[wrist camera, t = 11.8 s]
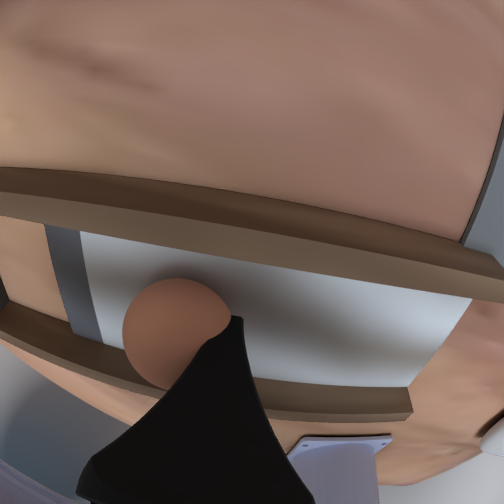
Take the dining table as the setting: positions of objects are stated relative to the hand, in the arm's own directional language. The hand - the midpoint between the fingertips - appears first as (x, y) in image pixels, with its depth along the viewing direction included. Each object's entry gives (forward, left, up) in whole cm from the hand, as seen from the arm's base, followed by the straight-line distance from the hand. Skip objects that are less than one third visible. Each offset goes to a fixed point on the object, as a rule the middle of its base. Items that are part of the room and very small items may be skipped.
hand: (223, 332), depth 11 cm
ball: (0, +1, +1) cm, 2 cm away
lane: (0, +2, -2) cm, 3 cm away
